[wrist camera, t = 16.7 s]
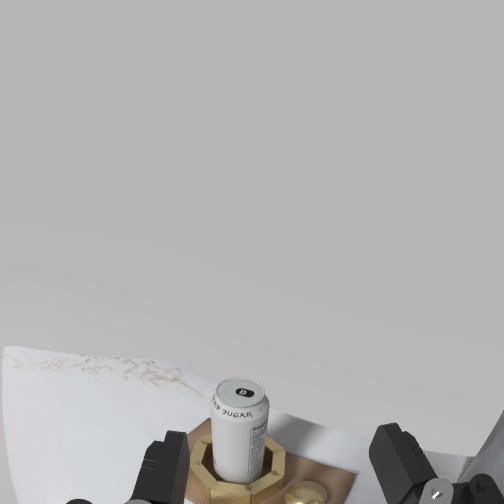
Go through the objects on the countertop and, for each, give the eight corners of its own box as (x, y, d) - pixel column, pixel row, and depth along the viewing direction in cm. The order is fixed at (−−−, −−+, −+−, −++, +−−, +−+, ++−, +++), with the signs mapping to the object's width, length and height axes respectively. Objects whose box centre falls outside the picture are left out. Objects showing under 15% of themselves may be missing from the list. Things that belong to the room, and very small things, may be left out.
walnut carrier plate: (353, 478, 30) (356, 474, 30) (311, 557, 18) (313, 554, 18) (209, 422, 42) (209, 417, 42) (146, 470, 30) (144, 465, 30)
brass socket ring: (321, 448, 35) (325, 433, 35) (325, 516, 23) (332, 503, 23) (204, 438, 37) (203, 422, 36) (181, 502, 25) (177, 488, 24)
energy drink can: (225, 452, 35) (225, 368, 31) (267, 464, 33) (278, 381, 29) (206, 481, 29) (198, 399, 26) (251, 496, 27) (259, 416, 24)
